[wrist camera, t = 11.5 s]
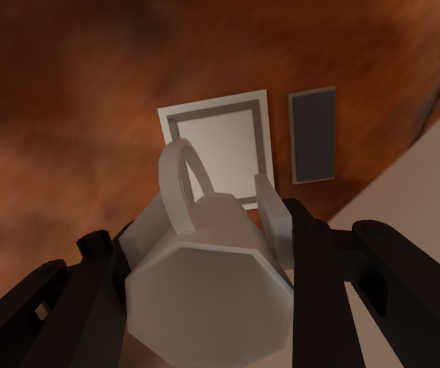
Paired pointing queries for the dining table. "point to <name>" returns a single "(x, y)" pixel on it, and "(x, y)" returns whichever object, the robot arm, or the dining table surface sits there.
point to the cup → (207, 279)
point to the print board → (224, 143)
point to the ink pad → (312, 134)
